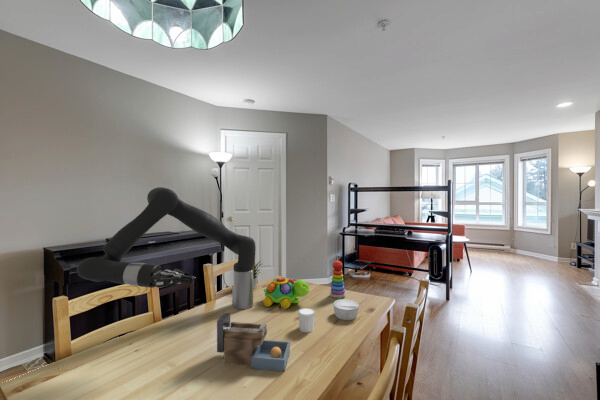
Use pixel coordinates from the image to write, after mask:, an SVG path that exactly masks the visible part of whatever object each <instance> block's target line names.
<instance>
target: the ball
mask: <svg viewBox="0 0 600 400" xmlns="http://www.w3.org/2000/svg"><path fill="white" fill-rule="evenodd" d="M270 355H271V357H272V358H280V356H281V349H280V348H279V347H274V348H272V349H271V352H270Z"/></svg>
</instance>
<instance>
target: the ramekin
mask: <svg viewBox="0 0 600 400" xmlns="http://www.w3.org/2000/svg"><path fill="white" fill-rule="evenodd" d="M332 306H333V310H334V312H333V313H334V315H335V317H336V318H337V319H340V320H342V321H343V320H344V321H352V320H355V319H356V318H357V316H358V313H359V312H358V311H359V308H360V305H359V303H358V302H356V301H355V300H352V299H345V298H339V299H337V300H335V301H333V304H332Z"/></svg>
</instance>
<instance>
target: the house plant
mask: <svg viewBox="0 0 600 400" xmlns="http://www.w3.org/2000/svg"><path fill="white" fill-rule="evenodd" d="M263 261H264V260H260V261H258V262H257V263H256V262H255V263H254V266H253V290H255V289H256V288H257V284H258V277H259V275H260V274H261V271H260V270H261V269H262V267H261V268H260V266H261V265H262V263H261V262H263ZM257 275H258V276H257Z"/></svg>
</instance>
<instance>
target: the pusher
mask: <svg viewBox="0 0 600 400" xmlns="http://www.w3.org/2000/svg"><path fill="white" fill-rule="evenodd" d="M260 324H261V326H260V329H254V328H238V327H231V312H224V313H223V314H222V315H221V316H220V317H219V318H218V319H217V321H216V352H217V353H223V354H224V337H225V330H240V331H256V332H262V337H263V335H264V333H265V324H266V322H261V323H260Z"/></svg>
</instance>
